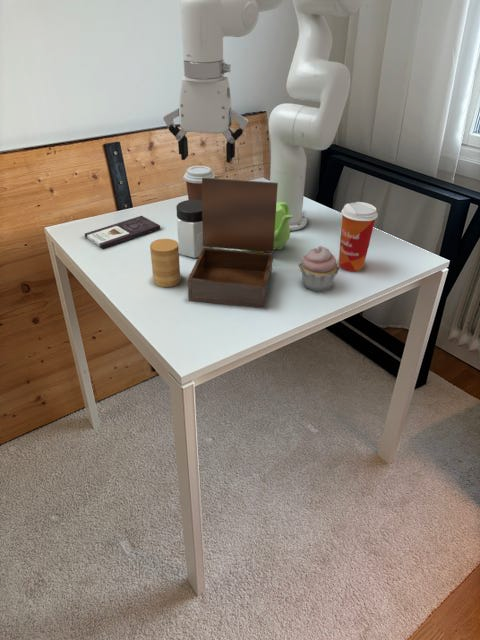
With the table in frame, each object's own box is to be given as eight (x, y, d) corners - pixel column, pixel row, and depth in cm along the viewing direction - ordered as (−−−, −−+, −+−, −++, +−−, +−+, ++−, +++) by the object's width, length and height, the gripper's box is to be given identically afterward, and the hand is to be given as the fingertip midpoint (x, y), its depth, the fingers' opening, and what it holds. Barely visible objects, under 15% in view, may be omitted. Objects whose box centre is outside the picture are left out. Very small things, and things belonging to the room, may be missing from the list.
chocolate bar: (160, 225, 139) (102, 245, 129) (160, 228, 139) (102, 248, 129) (141, 215, 144) (84, 233, 134) (141, 218, 145) (85, 236, 134)
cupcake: (289, 278, 118) (292, 239, 113) (324, 272, 121) (329, 233, 115) (307, 298, 111) (312, 258, 106) (344, 291, 114) (351, 251, 108)
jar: (187, 261, 125) (184, 215, 118) (171, 248, 130) (168, 203, 123) (218, 252, 129) (217, 207, 122) (202, 240, 134) (200, 196, 127)
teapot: (299, 238, 136) (303, 193, 129) (288, 262, 125) (292, 214, 118) (241, 230, 139) (242, 186, 132) (226, 253, 128) (226, 206, 121)
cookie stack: (160, 271, 120) (157, 236, 115) (184, 276, 118) (182, 241, 113) (148, 284, 115) (144, 248, 110) (173, 289, 114) (170, 253, 108)
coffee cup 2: (327, 261, 126) (335, 203, 117) (355, 255, 128) (364, 198, 120) (346, 276, 119) (355, 217, 111) (375, 270, 122) (386, 212, 114)
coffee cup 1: (206, 201, 156) (205, 162, 149) (221, 211, 150) (220, 171, 143) (180, 206, 152) (177, 167, 146) (193, 217, 146) (191, 176, 139)
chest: (264, 308, 108) (265, 287, 105) (188, 300, 110) (187, 279, 107) (271, 273, 120) (273, 253, 117) (203, 267, 122) (203, 247, 119)
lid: (277, 183, 109) (279, 177, 113) (201, 178, 111) (207, 172, 115) (273, 252, 117) (275, 244, 121) (202, 246, 119) (207, 238, 123)
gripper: (251, 68, 98) (250, 156, 109) (165, 65, 101) (172, 151, 111) (245, 75, 92) (244, 167, 103) (154, 72, 95) (162, 162, 105)
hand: (207, 159), depth 107 cm, fingers open, 9 cm apart
